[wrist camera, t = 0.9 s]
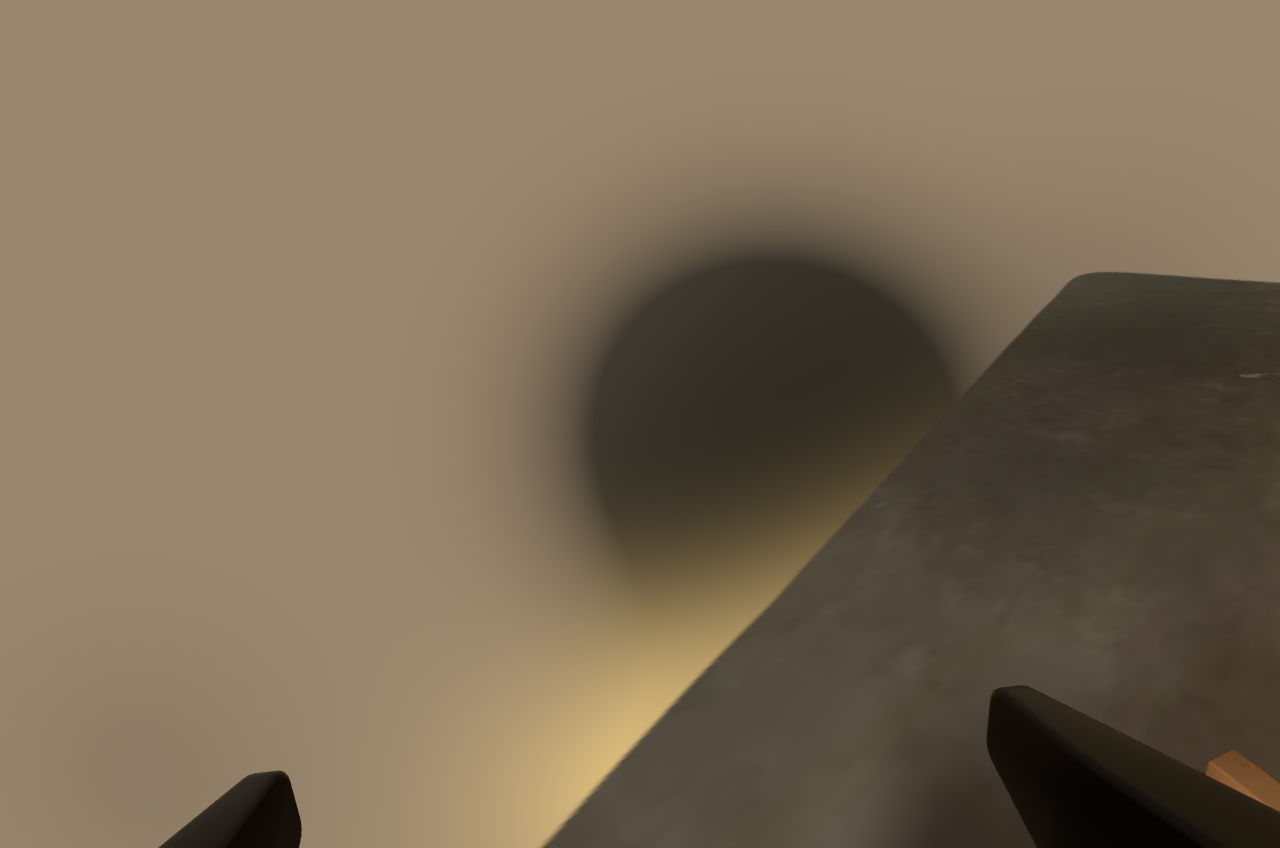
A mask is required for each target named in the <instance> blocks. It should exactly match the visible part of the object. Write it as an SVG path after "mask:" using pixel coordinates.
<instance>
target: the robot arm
mask: <svg viewBox="0 0 1280 848" xmlns="http://www.w3.org/2000/svg"><path fill="white" fill-rule="evenodd" d="M987 748H988V752H989V755H990V758H991V760H992V762H993V764H994V766H995V768H996V770H997V772H998V774H999V776H1000V778H1001V780H1002V782H1003V783H1004V785H1005V787H1006V789H1007V791H1008V793H1009V795H1010V797H1011V799H1012V801H1013V803H1014V805H1015V807H1016V809H1017V810H1018V812H1019V814H1020V816H1021V818H1022V820H1023V822H1024V824H1025V826H1026V828H1027V830H1028V832H1029V834H1030V836H1031V837H1032V839H1033V841H1034V843H1035V845H1036V847H1037V848H1280V812H1279V811H1277V810H1275V809H1273V808H1271V807H1269V806H1267V805H1265V804H1263V803H1261V802H1259V801H1257V800H1255V799H1253V798H1251V797H1249V796H1247V795H1245V794H1243V793H1241V792H1239V791H1237V790H1235V789H1233V788H1231V787H1229V786H1227V785H1225V784H1223V783H1221V782H1219V781H1217V780H1215V779H1213V778H1211V777H1209V776H1207V775H1205V774H1203V773H1201V772H1199V771H1197V770H1195V769H1193V768H1191V767H1189V766H1187V765H1185V764H1183V763H1181V762H1179V761H1177V760H1175V759H1173V758H1171V757H1169V756H1167V755H1165V754H1163V753H1161V752H1159V751H1157V750H1155V749H1153V748H1151V747H1149V746H1147V745H1145V744H1143V743H1141V742H1139V741H1137V740H1135V739H1133V738H1131V737H1129V736H1127V735H1125V734H1123V733H1121V732H1119V731H1117V730H1115V729H1113V728H1111V727H1109V726H1107V725H1105V724H1103V723H1101V722H1099V721H1097V720H1095V719H1093V718H1091V717H1089V716H1087V715H1085V714H1083V713H1081V712H1079V711H1077V710H1075V709H1073V708H1071V707H1069V706H1067V705H1065V704H1063V703H1061V702H1059V701H1057V700H1055V699H1053V698H1051V697H1049V696H1047V695H1045V694H1043V693H1041V692H1039V691H1037V690H1035V689H1033V688H1030V687H1028V686H1011V687H1003V688H998V689H996V690H994V691H993V693H992V695H991V699H990V708H989V718H988V728H987ZM301 829H302V828H301V820H300V816H299V812H298V808H297V805H296V801H295V798H294V793H293V790H292V787H291V782H290V779H289V777H288V775H287V774H286V773H285V772H283V771H271V772H263V773H255V774H251V775H249V776H247V777H245V778H244V779H242V780H241V781H240V782H239V783H238V784H236V785H235V786H234V787H233V788H231V789H230V790H229V791H228V792H226V793H225V794H224V795H223V796H221V797H220V798H219V799H218V800H217V801H215V802H214V803H213V804H212V805H210V806H209V807H208V808H207V809H205V810H204V811H203V812H202V813H201V814H199V815H198V816H197V817H196V818H194V819H193V820H192V821H191V822H189V823H188V824H187V825H186V826H185V827H183V828H182V829H181V830H180V831H178V832H177V833H176V834H175V835H173V837H171V838H170V839H169V840H167V841H166V842H165V843H164V844H162V845H161V846H160V847H159V848H299V845H300V840H301Z"/></svg>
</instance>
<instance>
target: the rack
mask: <svg viewBox="0 0 1280 848" xmlns="http://www.w3.org/2000/svg"><path fill="white" fill-rule="evenodd" d="M1205 775H1207V776H1209V777H1211V778H1213V779H1215V780H1217V781H1219V782H1221V783H1223V784H1225V785H1227V786H1229V787H1231V788H1233V789H1235V790H1237V791H1239V792H1241V793H1243V794H1245V795H1247V796H1249V797H1251V798H1253V799H1255V800H1257V801H1259V802H1261V803H1263V804H1265V805H1267V806H1269V807H1271V808H1273V809H1275V810H1277V811H1279V812H1280V782H1278V781H1277V780H1275V779H1274V778H1273V777H1271V776H1270V775H1269V774H1267V773H1266V772H1265V771H1263V770H1262V769H1261V768H1259V767H1258V766H1257V765H1255V764H1254V763H1253V762H1251V761H1250V760H1249V759H1247V758H1246V757H1245V756H1243V755H1242V754H1241V753H1239V752H1238V751H1237V750H1235V749H1232V750H1230V751H1228V752H1226V753H1224V754H1222V755H1220V756H1218V757H1216V758H1214V759H1212V760H1210V761H1209V763H1208V765H1207V768H1206V771H1205Z"/></svg>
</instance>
